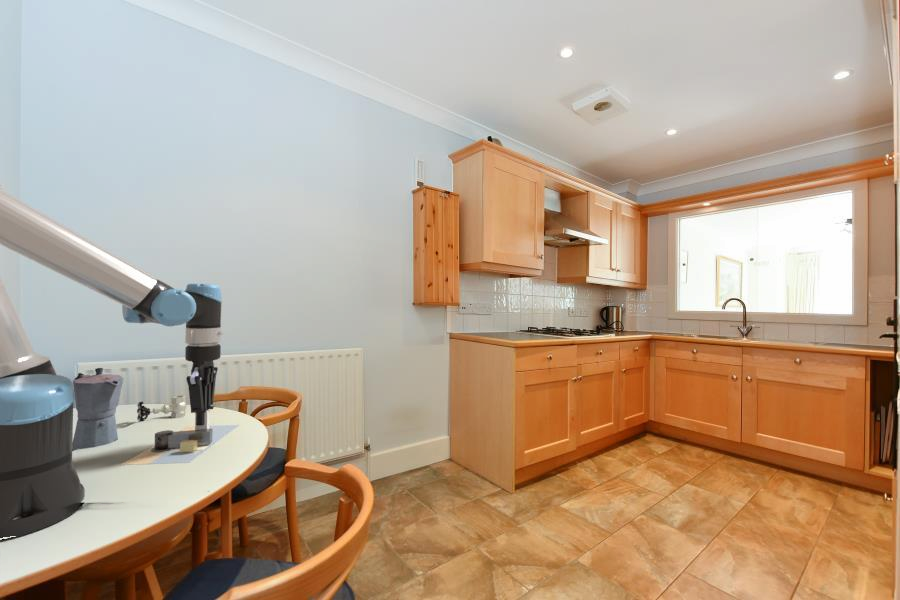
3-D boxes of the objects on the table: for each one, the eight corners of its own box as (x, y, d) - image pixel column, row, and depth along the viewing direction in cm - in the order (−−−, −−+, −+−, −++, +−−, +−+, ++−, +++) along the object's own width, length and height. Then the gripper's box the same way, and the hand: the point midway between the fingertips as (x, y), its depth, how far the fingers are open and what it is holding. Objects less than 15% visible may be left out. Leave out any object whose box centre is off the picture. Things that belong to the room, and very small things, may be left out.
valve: (183, 413, 125) (136, 421, 116) (183, 393, 125) (137, 400, 116) (188, 418, 120) (140, 426, 112) (189, 397, 120) (140, 404, 112)
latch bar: (151, 450, 90) (152, 436, 90) (157, 445, 93) (158, 431, 93) (209, 445, 94) (209, 431, 94) (212, 440, 97) (213, 426, 97)
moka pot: (96, 457, 90) (98, 372, 90) (46, 451, 93) (48, 369, 93) (137, 442, 99) (138, 366, 99) (90, 437, 102) (92, 363, 102)
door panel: (189, 467, 85) (189, 461, 85) (120, 470, 83) (120, 463, 83) (239, 429, 110) (239, 424, 110) (187, 430, 109) (187, 425, 109)
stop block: (193, 452, 90) (193, 442, 90) (179, 453, 90) (180, 442, 90) (197, 450, 92) (197, 439, 92) (183, 450, 91) (184, 440, 91)
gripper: (209, 347, 91) (208, 445, 91) (228, 341, 104) (227, 427, 104) (174, 347, 89) (172, 447, 90) (197, 341, 102) (196, 428, 102)
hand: (202, 436), depth 97 cm, fingers closed
